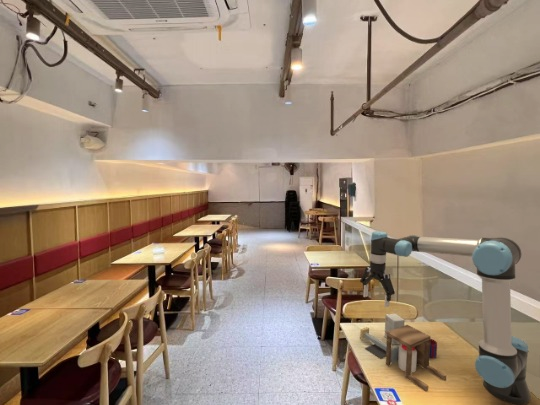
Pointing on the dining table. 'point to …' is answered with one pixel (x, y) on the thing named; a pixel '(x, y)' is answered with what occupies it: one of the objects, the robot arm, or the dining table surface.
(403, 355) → the pill bottle
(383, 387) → the dining table surface
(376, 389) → the dining table surface
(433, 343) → the mug
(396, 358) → the plunger
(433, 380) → the dining table surface
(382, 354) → the mat
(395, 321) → the small box
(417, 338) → the tunnel
